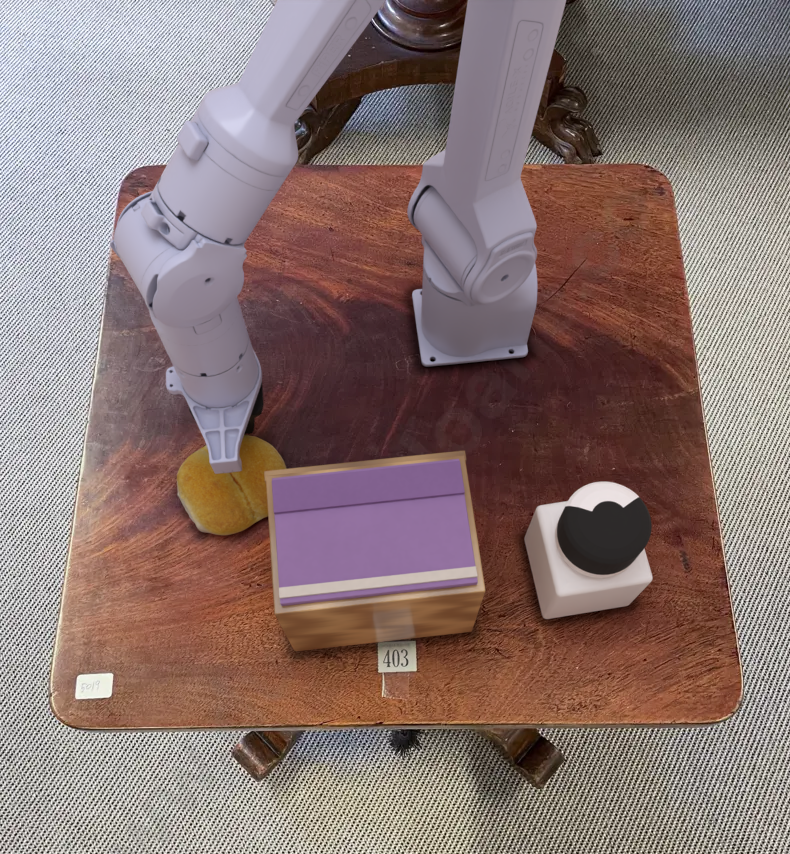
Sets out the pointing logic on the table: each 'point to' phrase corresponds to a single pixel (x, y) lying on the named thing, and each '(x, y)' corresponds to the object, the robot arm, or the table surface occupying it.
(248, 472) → the bread roll
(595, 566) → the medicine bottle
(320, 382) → the table surface
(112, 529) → the table surface
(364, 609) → the crate
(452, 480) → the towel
